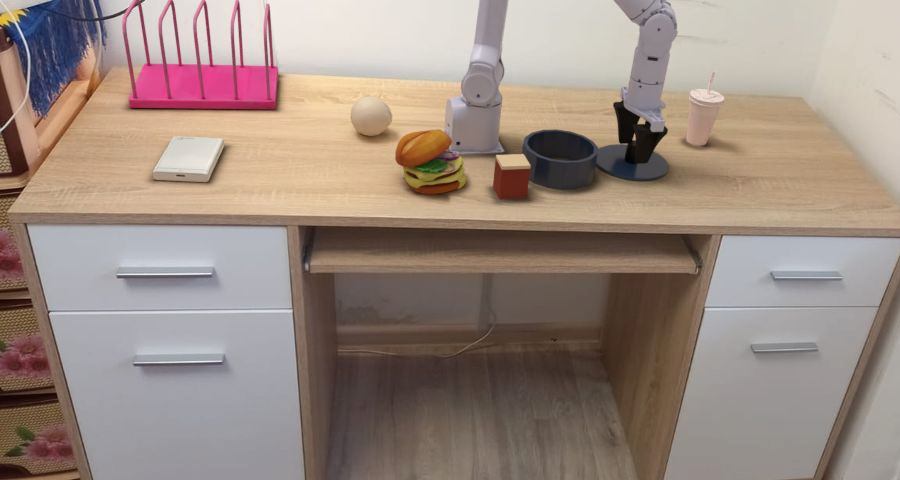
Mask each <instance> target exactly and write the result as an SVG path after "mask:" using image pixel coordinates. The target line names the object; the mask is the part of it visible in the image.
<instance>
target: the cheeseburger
mask: <svg viewBox="0 0 900 480" xmlns="http://www.w3.org/2000/svg"><path fill="white" fill-rule="evenodd" d="M451 144H452V140H451V138H450V137H449V136H448V135H447V134H446V133H445V132H444V131H443V130H442V129H439V128H438V129H429V130H427V129H426V130H418V131H414V132H409V133H406V134H404V135H403V136H402V137H401V138H400V139H399V141H398V142H397V144H396V148H395V152H394V153H395V154H394V156H395V157H394V160H395V162H396V164H397V165H399V166H401V167H402V170H403V177H404V180H405V182H407V184H408V186H409V187H410V188H411V189H412V190H414V191H416V192H417V193H421V194H427V195H435V194H442V193H443V194H444V193H448V192H451V191H454V190H460V189H462V188H463V187H464V185H465V184H466V182H467V174H466V173H465V168H464V164H465V162H464V159H463V158H462V156H460V154H458V153H456V152H453V151H450V150H449V147H450V145H451Z"/></svg>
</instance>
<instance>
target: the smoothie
mask: <svg viewBox="0 0 900 480" xmlns="http://www.w3.org/2000/svg"><path fill="white" fill-rule="evenodd" d="M715 73H716V71H715V70H713V71H711V74H710V78H709V81H708V84H707V85H708V86H707V88H695V89H692V90H690V92H689V95H688V100H689V106H688V117H687V126H686V135H685V136H686V137H685V141H686V142H687V143H689V144H690V145H693V146H705V145H706V144H707V143H708V140H709V138H710V135H711V132H712V129H713V127H714V124H715V122H716V120H717V117H718V114H719V112H720V109H721V107H722V106H724V104H725V96H724V95H723V94H721V93H720V92H717V91H716V90H712V86H713V81H714V77H715V75H716V74H715Z"/></svg>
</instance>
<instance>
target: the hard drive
mask: <svg viewBox="0 0 900 480" xmlns="http://www.w3.org/2000/svg"><path fill="white" fill-rule="evenodd" d="M224 148H225V139H223V138H220V137H202V136H181V135H179V136H178V135H174V136H173V137H172V138H171V140H170V142H169V144H168V146H167V147H166V148H165V150H164V152H163V153H162V155H161V156H160V159H159V160H158V162H157V163H156V165H155V167H154V169H153V171H152V178H153V180H156V181H171V182H172V181H173V182H194V183H207V182H209V180H210V178H211V176H212V174H213V172H214V170H215V167H216V165H217V163H218V161H219V158H220V156H221V154H222V153H223V149H224Z"/></svg>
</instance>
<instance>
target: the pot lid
mask: <svg viewBox="0 0 900 480" xmlns="http://www.w3.org/2000/svg"><path fill="white" fill-rule="evenodd" d="M635 149H636V139H633V140H630V141H628V143H627V144H620V143H617V144H614V143H613V144H607V145H604V146H600V147H598V155H597V161H596V166H595V167H597V168H598V169H599V170H600V171H602V172H604V173H605V174H608V175H610V176H613V177H616V178H618V179H622V180H628V181H633V182H634V181H635V182H650V181H655V180H659V179H661V178H663V177H665V176H666V175H667V174H668V171H669V163H668V161H667V160H666V158H665V157H663V156H662V155H661V154H659V153H657V152H656V151H655V150H654V151H653V153H652V155H651V157H650V159H649V161H648V163H643V164H637V163H636V162H635Z"/></svg>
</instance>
